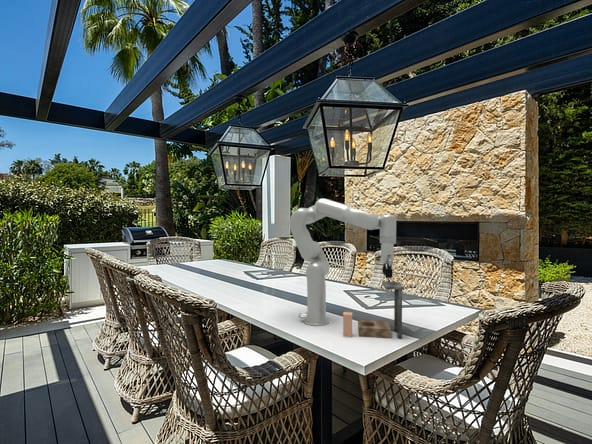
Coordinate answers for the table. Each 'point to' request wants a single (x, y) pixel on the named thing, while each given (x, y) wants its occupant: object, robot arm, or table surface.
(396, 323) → the socket block
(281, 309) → the table surface
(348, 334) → the peg
